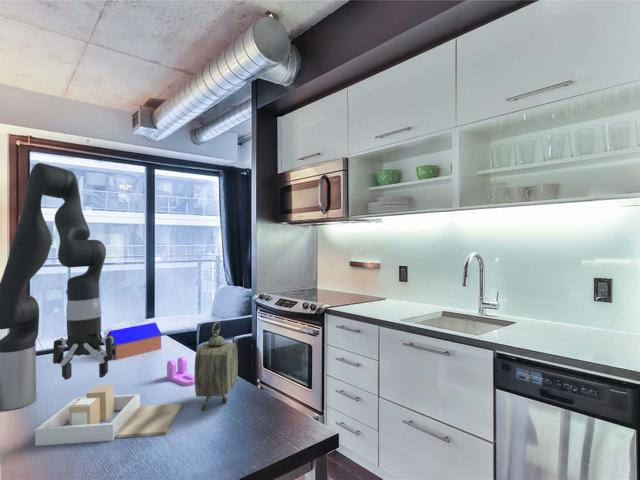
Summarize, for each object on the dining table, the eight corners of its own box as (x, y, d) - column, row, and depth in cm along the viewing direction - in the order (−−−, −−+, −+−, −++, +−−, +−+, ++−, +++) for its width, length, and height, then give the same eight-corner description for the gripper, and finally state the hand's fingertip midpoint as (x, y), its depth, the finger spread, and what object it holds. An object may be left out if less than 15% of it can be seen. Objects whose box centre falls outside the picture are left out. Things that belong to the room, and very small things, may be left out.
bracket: (167, 379, 132) (166, 359, 131) (181, 374, 136) (180, 355, 136) (187, 387, 124) (187, 367, 124) (201, 382, 128) (201, 362, 128)
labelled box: (69, 439, 92) (68, 406, 92) (80, 428, 97) (79, 397, 97) (90, 437, 93) (89, 405, 93) (99, 427, 98) (99, 396, 98)
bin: (35, 445, 89) (35, 429, 89) (75, 411, 107) (75, 397, 107) (112, 440, 91) (112, 424, 91) (139, 407, 109) (139, 394, 109)
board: (116, 438, 92) (116, 434, 92) (140, 408, 108) (140, 406, 108) (165, 434, 94) (165, 431, 94) (182, 406, 110) (182, 403, 110)
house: (104, 355, 160) (104, 328, 160) (149, 344, 175) (149, 320, 175) (115, 360, 152) (115, 333, 152) (162, 349, 168) (161, 324, 168)
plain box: (86, 421, 101) (86, 393, 101) (95, 413, 106) (95, 385, 106) (106, 420, 101) (105, 392, 101) (114, 412, 106) (113, 384, 106)
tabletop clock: (211, 392, 119) (210, 316, 119) (238, 392, 119) (238, 316, 119) (194, 413, 105) (193, 327, 105) (226, 414, 104) (225, 327, 104)
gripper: (45, 320, 91) (47, 385, 91) (106, 317, 92) (107, 381, 92) (63, 314, 98) (64, 374, 98) (118, 311, 100) (120, 370, 100)
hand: (85, 377), depth 95 cm, fingers open, 8 cm apart
